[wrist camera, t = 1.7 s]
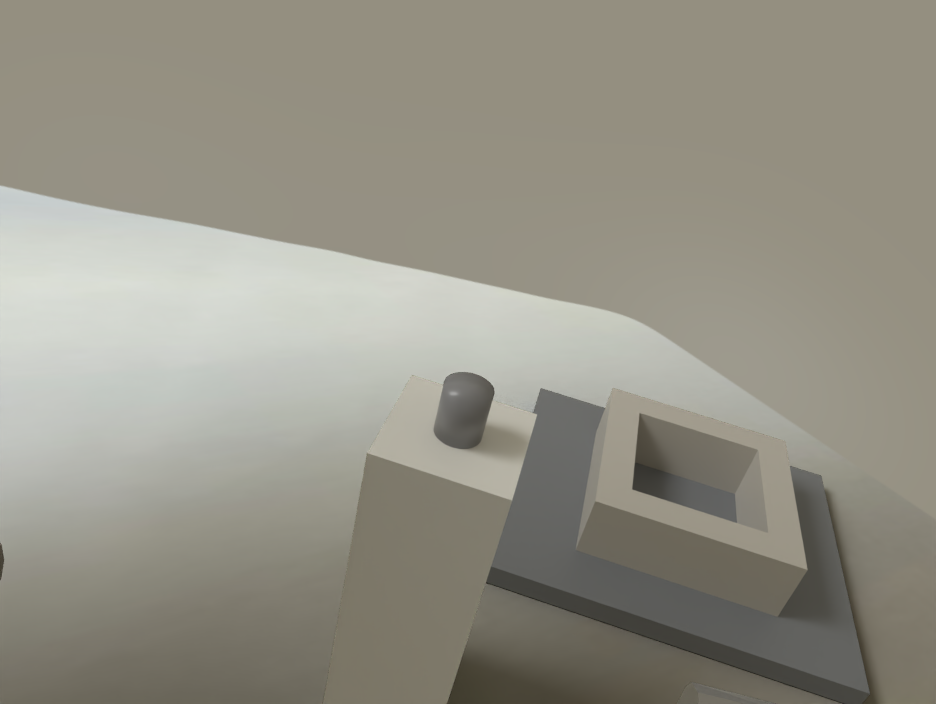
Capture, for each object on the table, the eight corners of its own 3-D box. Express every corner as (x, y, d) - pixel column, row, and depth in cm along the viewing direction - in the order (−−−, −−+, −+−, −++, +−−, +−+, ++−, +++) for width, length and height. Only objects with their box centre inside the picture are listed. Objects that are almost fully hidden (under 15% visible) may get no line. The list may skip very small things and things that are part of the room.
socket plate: (482, 581, 34) (503, 514, 31) (536, 402, 45) (554, 344, 43) (858, 708, 32) (907, 647, 30) (813, 488, 44) (846, 433, 42)
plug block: (321, 714, 27) (375, 405, 20) (361, 624, 31) (420, 331, 23) (430, 753, 27) (526, 454, 20) (459, 658, 30) (550, 371, 23)
